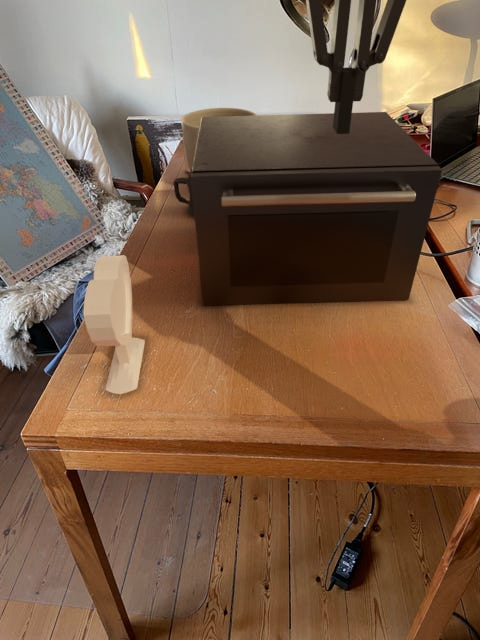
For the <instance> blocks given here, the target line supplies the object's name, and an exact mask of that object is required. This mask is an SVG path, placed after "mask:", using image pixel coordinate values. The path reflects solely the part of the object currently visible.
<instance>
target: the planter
mask: <svg viewBox="0 0 480 640" xmlns="http://www.w3.org/2000/svg"><path fill="white" fill-rule="evenodd" d="M222 116H258V115H257V114H256V113H255V112H253V111H251V110H248V109H245V108H244V109H243V108H235V107H211V108H204V109H199V110H195V111H191V112H188V113H186V114H185V115H183V116H182V117H181V119H180V120H181V129H182V130H181V132H182V140H183V139H184V145H185V151H186V157H187V162H188V167H189V171H190V170H191V169H192V168H193V162H194V157H195V151H196V146H197V141H198V135H199V130H200V124H201V119H202V117H222Z"/></svg>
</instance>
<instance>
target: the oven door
mask: <svg viewBox="0 0 480 640" xmlns="http://www.w3.org/2000/svg"><path fill="white" fill-rule="evenodd" d="M442 172H443V169H442V168H441V167H440V166H439V165H438V166H427V167H390V168H354V169H318V170H282V171H245V172H209V173H192V174H191V182H192V193H193V204H194V214H195V217H194V223H195V225H194V226H195V235H196V245H197V256H198V266H199V267H198V268H199V280H200V290H201V291H200V292H201V298H202V299H201V302H202V306H231V305H232V306H233V305H235V306H236V305H237V306H238V305H266V304H267V305H269V304H271V305H272V304H306V303H307V304H308V303H309V304H311V303H341V302H342V303H347V302H350V303H351V302H383V301H409V299H410V296H411V292H412V289H413V285H414V280H415V277H416V273H417V269H418V265H419V262H420V257H421V254H422V250H423V246H424V241H425V238H426V234H427V231H428V226H429V223H430V218H431V215H432V211H433V207H434V203H435V200H436V196H437V193H438V188H439V184H440V180H441V176H442Z"/></svg>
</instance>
